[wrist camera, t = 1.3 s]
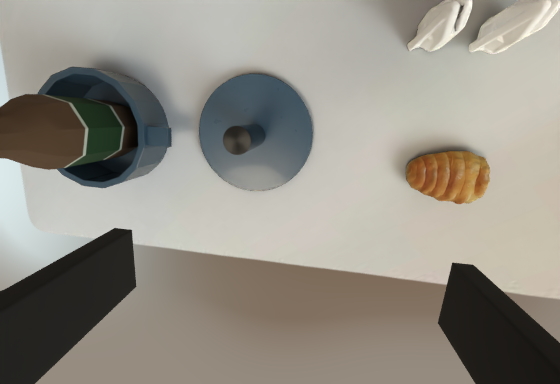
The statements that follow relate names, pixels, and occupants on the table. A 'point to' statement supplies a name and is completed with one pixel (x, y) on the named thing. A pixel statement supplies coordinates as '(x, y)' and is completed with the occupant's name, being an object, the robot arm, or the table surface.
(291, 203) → the table surface
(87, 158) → the beer bottle
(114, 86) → the pot
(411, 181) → the pastry
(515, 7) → the shaker set
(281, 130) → the lid
